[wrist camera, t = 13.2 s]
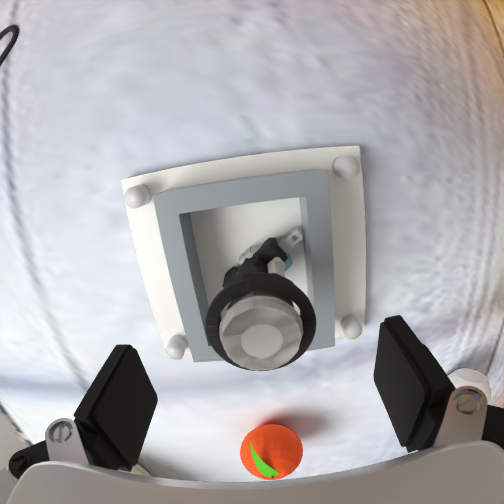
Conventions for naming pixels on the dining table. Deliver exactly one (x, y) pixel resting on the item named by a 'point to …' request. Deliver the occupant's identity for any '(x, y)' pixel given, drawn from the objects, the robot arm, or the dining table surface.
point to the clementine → (271, 451)
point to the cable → (10, 45)
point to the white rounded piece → (471, 380)
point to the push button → (262, 310)
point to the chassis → (251, 237)
